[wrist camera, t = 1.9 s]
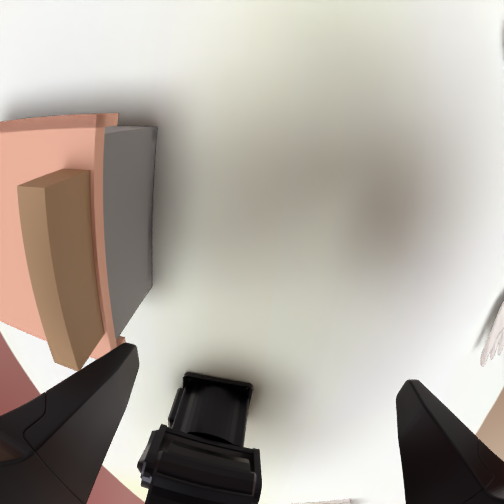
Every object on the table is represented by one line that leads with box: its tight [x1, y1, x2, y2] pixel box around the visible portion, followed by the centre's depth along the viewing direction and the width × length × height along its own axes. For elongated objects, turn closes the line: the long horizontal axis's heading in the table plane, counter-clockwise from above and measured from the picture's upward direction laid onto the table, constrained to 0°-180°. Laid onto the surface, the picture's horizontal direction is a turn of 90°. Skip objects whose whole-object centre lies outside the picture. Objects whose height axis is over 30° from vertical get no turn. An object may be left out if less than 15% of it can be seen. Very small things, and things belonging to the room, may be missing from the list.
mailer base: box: [103, 125, 157, 340], centre depth 18 cm, size 16×12×7 cm
